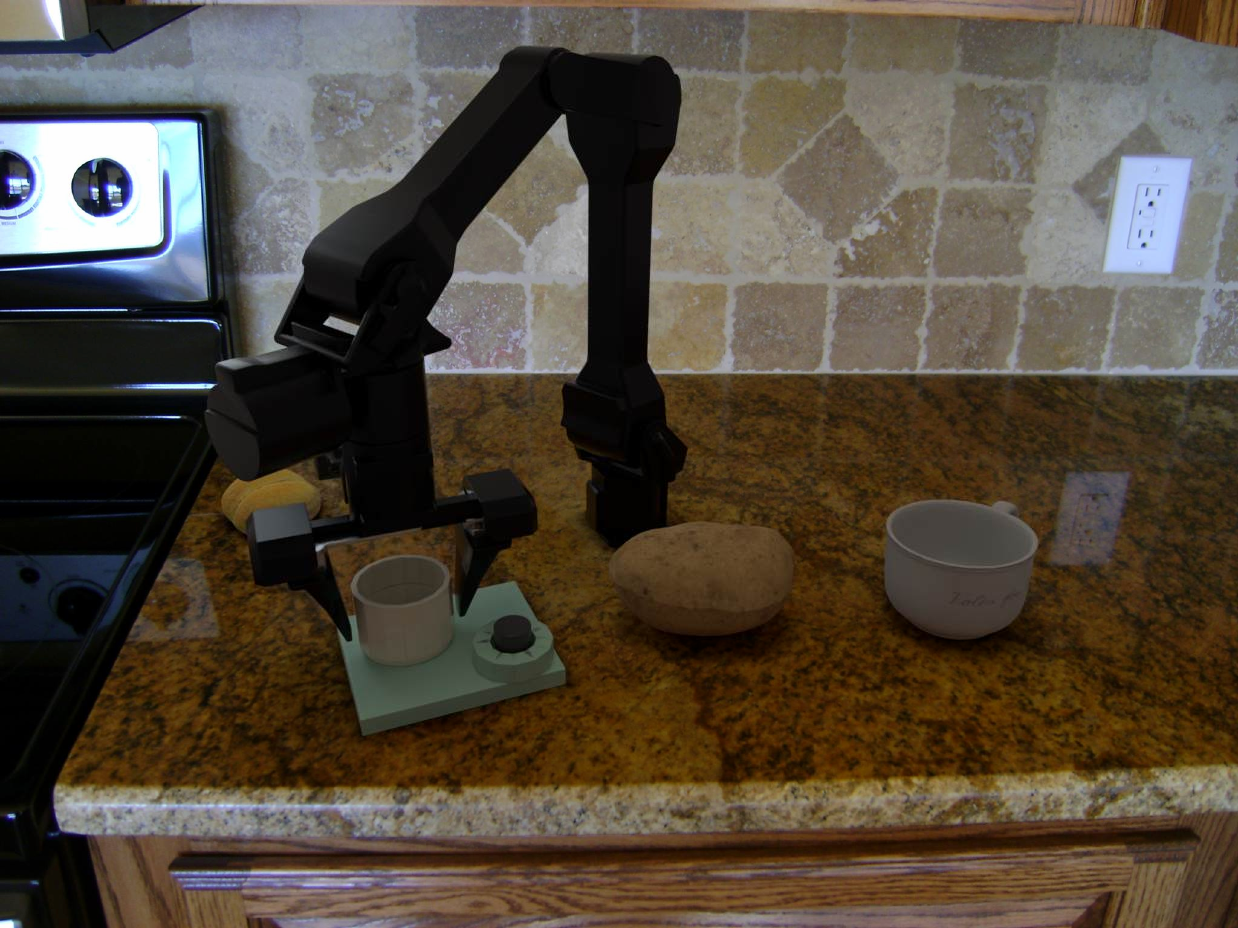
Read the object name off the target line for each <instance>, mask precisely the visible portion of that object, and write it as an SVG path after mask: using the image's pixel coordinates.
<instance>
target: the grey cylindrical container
mask: <svg viewBox="0 0 1238 928" xmlns="http://www.w3.org/2000/svg"><path fill="white" fill-rule="evenodd" d="M350 593H351V601H352V608H353V615H354V616H355V623H356V630H357V638H358V641H359V645H360V648H361V649H362V650H363V652H364V653H365V654H366V655H367V656H368V657H369V658H370V659H372V660H373V661H375V662H378V663H381V664H384V665H390V666H407V665H414V664H418V663H422V662H425V661H427V660H430V659H432V658H434V657H436V656H437V655H439V654H440V653H442V652H443V651H444V650H445V649H446V648H447V647H448V645H449V644H450V642H451V640H452V637H453V633H454V629H455V619H454V607H453V594H454V592H453V581H452V574H451V572H450V570H449V568H448V566H447V565H446V564H445V563H443V562H441V561H440V560H438V559H437V558H435V557H430V556H426V555H421V554H399V555H393V556H388V557H383V558H380V559H378V560H376V561H373V562H371V563H369V564H366V565H365V566H364V567H363V568H361V569H360V570H359V571H357V573H355V574H354V576H353V579H352V580H351V583H350Z"/></svg>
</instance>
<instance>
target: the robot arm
mask: <svg viewBox="0 0 1238 928" xmlns="http://www.w3.org/2000/svg"><path fill="white" fill-rule="evenodd" d="M682 92H683V91H682V84H681V79H680V76H679V74H678V73H675V71H674V69H673V67H672V66H671V63H670V62H669V61H668V60H666V58H665V57H663V56H659V55H655V54H640V53H639V54H638V53H618V52H617V53H616V52H598V51H597V52H595V51H592V52H589V53H585V54H581V53H578V52H574V51H571V49H568V48H566V47H563V46H548V45H547V46H546V45H545V46H543V45H527V44H526V45H520V46H519V45H518V46H516V47H515V48H513V49H510V50H509V51H507V52H506V53H504V55H503V57H502V58H501V60H500V62H499V64H498V69H497V71H496V72H495V74H494V75H493V76H492V77H491V78H490V79H489V81H487V82H486V83H485V85H484V86H483V87H482V88H481V89H480V91H479V92H478V93H477V94H476V95H475V96H474V97H473V99H472V100H470V102H469V103H468V104H467V105H466V106H465V107H464V108H463V110H462V111H460V113H459V114H458V115H457V116H456V118H455V119H454V120H453V121H452V122H451V123H450V124H449V126H447V127H446V129H445V130H444V131H443V132H442V133H441V134H440V136H439V137H438V138H437V139H436V140H435V142H433V144H431V146H430V147H429V148H428V149H427V150H426V151H425V153H424V154H422V156H421V157H420V158H419V159H418V160H417V162H416V163H414V165H413V166H412V167H411V169H409V171H408V172H407V173H406V174H405V175H404V176H403V177H402V178H401V179H400V180H399V181H398V182H397V183H395V184H394V185H393V186H392V187H391V188H389V189H388V190H386V191H383V192H382V193H379V194H378V195H375V196H373V197H371V198H369V199H366V200H364V201H362V202H360V203H358V204H355V205H354V206H352V207H350V208H349V209H348V210H346V211H345V212H344V213H343V214H341V215H340V216H338V217H337V218H335V220H334V221H332V222H331V223H329V225H327V226H326V227H324V228H323V229H322V230H320V231H319V232H318V233H317V234H316V235H315V236H314V237H313V238H312V239H311V240H310V242H309V244H308V245H307V246H306V248H305V250H304V252H303V255H302V258H301V264H302V266H303V272H302V274H301V277H300V280H299V281H298V284H297V285H296V287H295V289H294V292H293V293H292V296H291V298H290V300H289V302H288V305H287V307H286V309H285V311H284V313H283V315H282V317H281V319H280V321H279V324H278V326H277V328H276V330H275V333H274V335H273V340H274V342H275V343H276V344H278V345H281V346H283V347H284V348H280V349H277V350H273V351H269V352H265V353H261V354H259V355H253V356H249V357H234V358H230V359H226V360H221V361H219V362H217V363H216V365H214V370H215V376H216V381H217V383H216V384H215V385H213V386H211V388H210V390H209V392H208V395H207V401H206V403H207V405H206V407H207V408H206V410H204V412H203V415H204V420H205V425H206V429H207V432H208V436H209V439H210V440H211V443H212V445H213V446H212V447H213V448H214V449H215V452H216V454H217V456H218V457H219V459H220V460H221V462H222V463H223V465H224V466H225V467H226V469H227V470H228V471H229V473H231V474H232V475H233V476H234V477H236V479H239V480H241V481H245V482H250V481H253V480H256V479H259V478H262V477H264V476H267V475H270V474H272V473H275V472H278V471H281V470H283V469H289V468H291V467H294V466H296V465H300V464H302V463H305V462H307V461H310V460H312V461H313V465H314V471H315V476H316V478H317V480H318V481H320V482H322V481H329V480H334V479H340V484H341V491H342V492H341V493H342V497H343V501H344V504H345V505H348V510H349V513H348V514H343V515H342V514H341V515H337V516H331V517H325V518H319V519H312V520H311V521H310V520H309V516H308V512H307V508H306V504H305V502H304V503H298V504H292V505H286V506H280V507H274V508H268V509H262V510H256V511H252V513H251V514H250V515H249V517H248V518H247V520H246V521H245V523H246V531H247V534H246V539H247V546H248V554H249V561H250V566H251V571H252V577H253V583H254V585H255V586H259V587H263V588H267V587H272V586H276V585H277V586H278V585H282V584H287V589H288V590H289V591H291V592H300V591H305V592H307V594H308V595H309V596H310V597H311V598H312V599H314V601H315V602H317V604H318V605H319V606H320V607H321V608H323V611H325V612H326V613H327V615H328V616H329V618H330V619H331V621H332V622H333V624H334V625H335V628H336V627H337V628H338V630H339V631H340V633H341V634H342V636H343V637H344V639H345V640H346V641H347V642H351V641H352V640H353V639H352V629H351V625H350V621H349V617H348V616H349V614H348V611H347V610H348V609H347V608H346V607H347V606H346V604H345V601H344V598H343V595H342V592H341V589H340V585H339V582H338V579H337V575H336V573H335V569H334V565H333V563H332V560H331V556H330V553H329V549H332V548H337V547H342V546H343V547H344V546H347V545H353V544H359V543H364V542H370V541H376V540H382V539H386V538H392V537H397V536H402V535H407V534H413V533H419V532H422V531H426V530H431V529H436V528H442V527H447V526H453V528H454V529H453V530H454V538H455V539H454V540H455V549H454V551H455V553H454V562H455V563H454V592H453V593H454V594H455V602H456V609H457V612H458V615H459V617H464V616H465V615H466V613H467V611H468V609H469V606H470V604H471V602H472V600H473V598H474V596H475V594H476V591H477V589H479V588H480V585H481V583H482V581H483V580H484V578H485V576H486V574H487V573H488V571H489V569H490V568H491V566H492V565H493V563H494V561H496V558H497V557H498V555H499V554H500V552H502V551H505V550H509V549H511V547H512V546H513V539H519V538H524V537H529V536H534V535H535V534H536V532H537V531H538V530H539V523H538V521H539V520H538V519H539V517H538V507H537V503H536V500H535V497H534V496H533V494H532V493H531V491H530V490H529V488H527V486H526V485H525V483H524V482H523V480H522V479H521V477H520V476H519V474H517V473H516V472H515V471H513V470H512V469H511V468H510V467H509V468H508V467H507V468H503V469H496V470H490V471H483V472H478V473H473V474H466V475H463V478H462V480H461V486H462V487H461V491H459V492H458V493H457V495H452V496H446V497H440V498H437V495H436V494H437V493H436V483H435V481H436V480H435V471H434V469H435V466H434V465H435V462H434V452H433V446H432V433H431V423H430V412H429V411H430V409H429V400H428V398H429V397H428V387H427V386H428V385H427V375H426V374H427V373H426V361H425V357H427V356H430V355H433V354H436V353H440V352H443V351H446V350H448V349H450V348H451V347H452V345H453V340H452V339H451V338H450V337H449V336H448V335H446V334H444V333H443V332H442V331H440V330H439V329H437V328H436V327H435V326H433V324H432V323H431V322H430V321H429V319H428V317H429V316H430V314H431V313H432V311H433V309H434V308H435V306H436V304H437V303H438V301H439V299H440V298H441V296H442V295H443V293H444V291H445V289H446V288H447V286H448V285H449V283H450V281H451V279H452V277H453V274H454V271H455V264H456V263H455V262H456V256H457V248H458V244H459V243H460V241H461V239H462V237H463V236H464V234H465V232H466V231H467V229H468V228H469V227H470V226H471V225H472V223H473V222H474V221H476V219H477V217H478V216H479V215H480V214H481V213H482V211H484V209H485V208H486V207H487V206H488V204H489V203H490V202H491V201H492V200H493V198H494V197H495V196H496V194H498V192H499V191H500V190H501V189H502V187H504V185H505V184H506V182H508V180H509V179H510V178H511V176H512V175H513V174H514V173H516V170H517V169H518V168H519V167H520V166H521V165H522V164H523V162H524V161H525V160H526V159H527V157H529V155H530V154H531V153H532V151H533V150H534V149H535V148H536V146H537V145H538V144H539V143H540V142H541V141H542V140H543V138H544V137H545V136H546V135H547V134H548V132H549V131H550V130H551V129H552V128H553V126H554V125H555V124H556V123H557V122H558V120H559V119H560V118H561V117H562V115H564V116H565V122H566V131H567V139H568V144H569V146H570V147H571V149H572V152H573V154H574V155H575V157H576V159H577V161H578V163H579V165H580V167H581V169H582V171H583V173H584V175H585V178H586V180H587V353H586V354H587V355H586V360H585V362H584V364H583V366H582V367H581V369H580V371H579V372H578V374H577V375H576V377H575V378H574V380H570V381H565V382H564V383H563V385H562V388H561V397H562V406H563V408H562V416H561V420H560V427H563V428H565V432H566V433H565V434H566V437H567V439H568V442H570V443H572V444H573V447H574V450H575V453H576V456H577V459H578V460H580V461H585V462H587V463H590V464H591V479H588V480H587V481H586V483H585V496H586V497H585V501H586V503H585V506H586V509H585V511H584V517H585V519H586V521H587V523H588V524H589V525H590V526H591V527H592V529H593V530H594V531H595V532H596V533H597V534H598V535H599V537H601V539H602V540H603V541H604V543H605V544H606V545H607V546H608V547H611V548H615V547H621V546H622V545H623V544H625V543H626V542H627V541H629V540H630V539H631V538H632V537H634V536H636V535H638V534H640V533H642V532H645V531H649V530H652V529H659V528H667V527H671V526H673V525H672V523H670V522H669V521H668V502H669V501H668V500H669V498H668V497H669V484H670V483H673V482H675V481H676V480H677V479H676V478H677V474H678V473H680V472H682V471H683V470H684V466H685V462H686V459H687V456H688V455H687V454H688V450H689V448H688V447H689V446H687V444H686V443H685V442H683V441H682V440H681V438H679V436H678V435H677V434H676V433H675V432H674V431H673V430H672V429H671V428H670V427H669V425H668V422H667V407H666V397H665V392H664V390H663V389H662V387H661V384H660V382H659V381H658V378H657V376H656V375H655V373H654V370H653V369H652V366H651V364H650V362H649V358H648V356H649V355H648V352H649V347H648V346H649V327H650V326H649V324H650V323H649V322H650V321H649V320H650V295H651V293H650V292H651V291H650V290H651V263H652V262H651V261H652V260H651V259H652V233H653V232H652V231H653V204H654V203H653V202H654V201H653V200H654V184H655V180H656V178H657V177H658V175H659V173H660V172H661V170H662V168H663V166H664V165H665V163H666V161H667V160H668V158H669V157H670V155H671V153H672V152H673V150H674V149H675V146H676V142H677V135H678V129H679V128H678V127H679V122H680V113H681V107H682V101H683V99H682V98H683V97H682V96H683V93H682ZM330 317H332V318H334V319H338V320H339V321H343V322H346V323H349V324H352V325H355V326H358V328H357V330H356V333H355V334H354V333H353V334H352V333H349V332H347V331H344V330H341V329H338V328H335V327H332V326H329V325H326V324H325V323H326V322H327V321H328V319H329V318H330ZM337 628H336V629H337Z"/></svg>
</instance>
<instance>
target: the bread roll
mask: <svg viewBox="0 0 1238 928" xmlns="http://www.w3.org/2000/svg"><path fill="white" fill-rule="evenodd" d="M321 497H322V496H321V494H320V491H319V490H318V489H317V487H315V486H314V485H312V484H311V483H309V482H308V481H307V480H306V479H305V478H303V477H302V476H301V475H300V474H298V473H296V472H294V471H292V470H290V469H288V468H286V469H283V470H281V471H278V472H275V473H272V474H270V475H267V476H264V477H262V478H259V479H256V480H253V481H250V482H245V481H241V480H239V479H238V478H236V479H235V480H234V481H233V482H232V483H230V484H229V486H228V487H227V488H226V490H225V491H224V493H223V494H222V497H221V510H222V513H223V515H224V516H225V517H226V518H227V519H228V521H230V522H231V523H232V524H233V525H234V527H235V528H236V530H238V531H239V532H241V533H242V534H245V535H247V531H246V523H245V521H246V520H247V518H248V517H249V515H250V514H251V513H252V511H256V510H262V509H268V508H274V507H280V506H286V505H292V504H298V503H304V502H305V504H306V508H307V512H308V516H309V520H310V521H313V520H314V518H315V517H316V516H317V515H318V513H319V512H320V510H321V507H322V506H321V505H322V503H321V501H322V499H321Z"/></svg>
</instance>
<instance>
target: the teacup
mask: <svg viewBox="0 0 1238 928" xmlns="http://www.w3.org/2000/svg"><path fill="white" fill-rule="evenodd" d="M1019 515H1020V514H1019V509H1018V507H1017V506H1016V505H1015V504H1014V503H1012V502H1009V501H1007V500H1006V501H1005V500H999V501H996V502H994V503H993V504H992V505H991V506H989V505H986V504H982V503H977V502H971V501H967V500H957V499H928V500H927V499H926V500H921V501H916V502H911V503H908V504H905V505H902V506H900V507H898V508H896V509H895V510H893V511H892V512H891V513H890V514H889V515H888V517H887V519H886V522H885V531H886V532H885V533H886V541H885V553H884V569H883V573H884V574H883V575H884V576H883V577H884V588H885V593H886V595H887V597H888V600H889V602H890V604H891V605H892V606H893V608H894V609H895V610H896V612H898V613H899V614H900V615H901V616H902V617H904V618H905V619H906V620H908V621H909V622H910V623H911V624H912V625H913V626H915V627H916V628H918V629H920V630H921V631H923V632H925V633H927V634H930V635H933V636H936V637H938V638H942V639H943V638H944V639H948V640H958V641H962V640H963V641H965V640H974V639H978V638H982V637H985V636H988V635H990V634H993V633H996V632H999V631H1001V630H1002V629H1004V628H1006V627H1008V626H1010V624H1011V623H1013V622H1014V621H1015V620H1016V619H1017V618H1018V616H1019V615H1020V613H1021V612H1022V610H1023V608H1024V605H1025V602H1026V599H1027V595H1028V591H1029V586H1030V584H1031V583H1030V582H1031V577H1032V572H1033V566H1034V562H1035V555H1036V554H1037V552H1038V548H1039V537H1037V534H1036V532H1035V531H1034V530H1033V529H1032V528H1031V526H1029V525H1028V524H1027V523H1026V522H1024V521H1023V520H1022V519H1020V518H1019V517H1020V516H1019Z"/></svg>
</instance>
